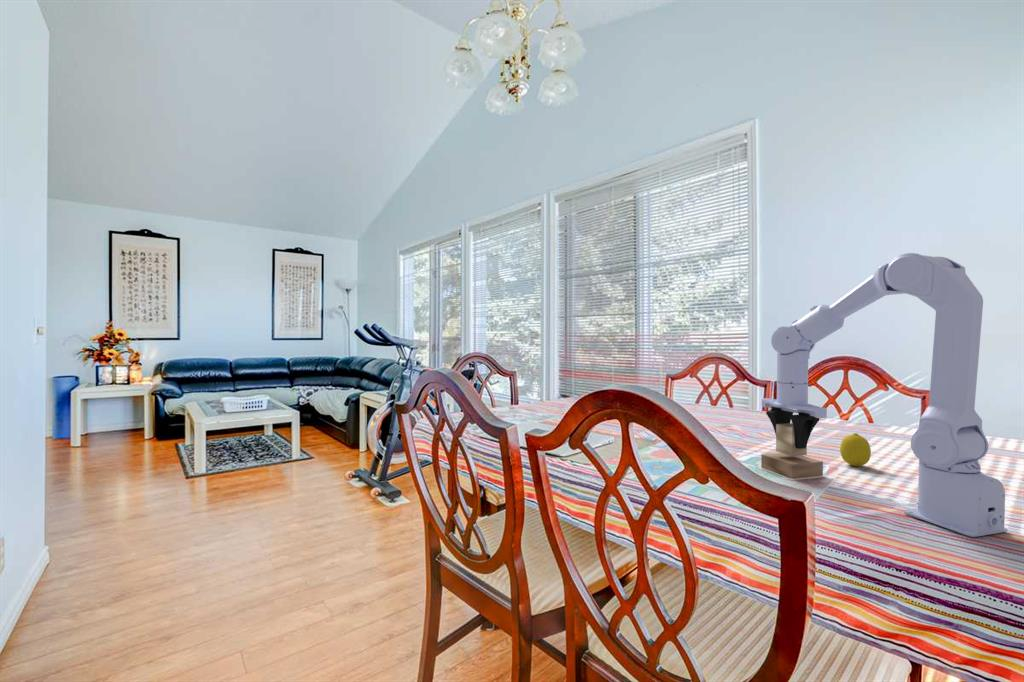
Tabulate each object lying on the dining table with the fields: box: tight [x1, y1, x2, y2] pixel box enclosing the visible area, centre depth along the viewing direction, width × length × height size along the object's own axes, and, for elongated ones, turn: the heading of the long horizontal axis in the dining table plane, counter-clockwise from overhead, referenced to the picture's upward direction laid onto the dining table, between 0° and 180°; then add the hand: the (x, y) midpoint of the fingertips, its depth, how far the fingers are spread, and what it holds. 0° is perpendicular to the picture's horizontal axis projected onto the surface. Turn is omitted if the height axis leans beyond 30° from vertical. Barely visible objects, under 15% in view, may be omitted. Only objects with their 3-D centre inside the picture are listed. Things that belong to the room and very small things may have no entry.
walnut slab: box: [760, 452, 824, 479], centre depth 97 cm, size 8×8×3 cm
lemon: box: [839, 432, 872, 468], centre depth 102 cm, size 6×6×8 cm
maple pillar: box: [775, 422, 808, 456], centre depth 97 cm, size 4×4×6 cm
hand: (791, 445), depth 97 cm, fingers closed on maple pillar, 4 cm apart
